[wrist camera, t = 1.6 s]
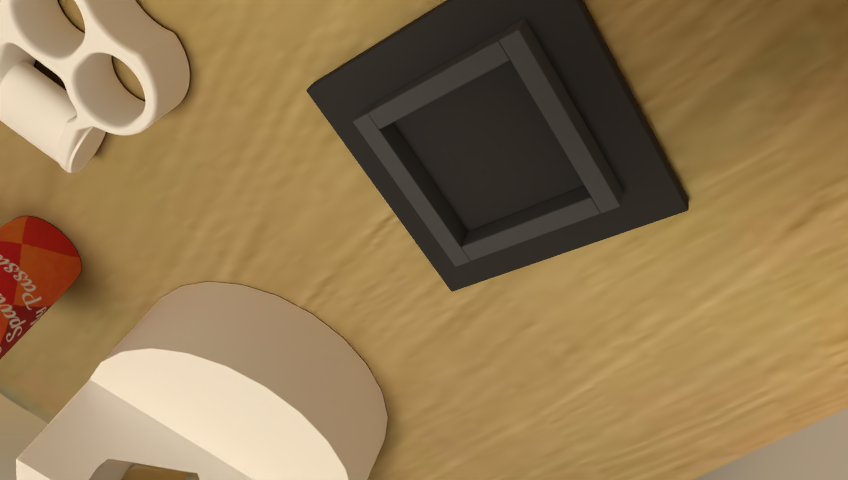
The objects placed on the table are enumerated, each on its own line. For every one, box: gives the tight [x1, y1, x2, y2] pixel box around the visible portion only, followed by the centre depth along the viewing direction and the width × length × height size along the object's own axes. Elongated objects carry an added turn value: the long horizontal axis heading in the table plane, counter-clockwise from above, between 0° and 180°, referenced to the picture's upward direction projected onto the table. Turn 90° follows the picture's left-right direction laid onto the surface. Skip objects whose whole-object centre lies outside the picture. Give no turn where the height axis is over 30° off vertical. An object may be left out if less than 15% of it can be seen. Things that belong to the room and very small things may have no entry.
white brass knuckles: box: [0, 0, 190, 173], centre depth 38 cm, size 3×18×15 cm
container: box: [16, 282, 388, 480], centre depth 49 cm, size 20×20×13 cm
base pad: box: [307, 0, 689, 291], centre depth 35 cm, size 14×14×2 cm
